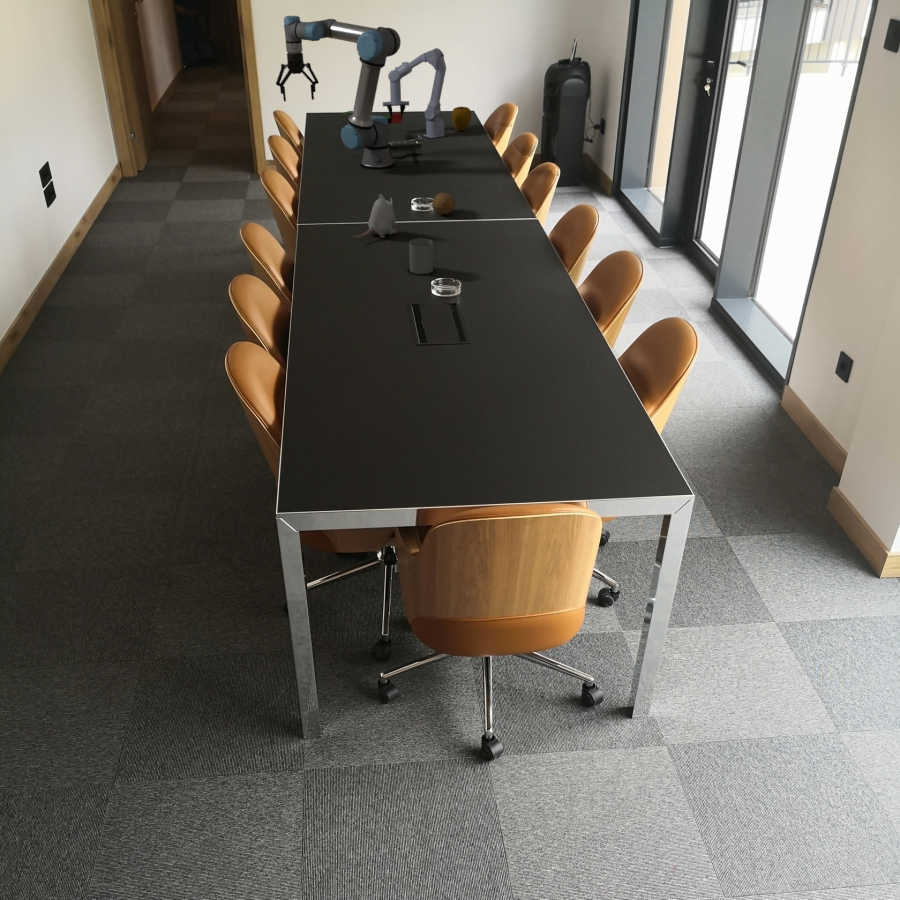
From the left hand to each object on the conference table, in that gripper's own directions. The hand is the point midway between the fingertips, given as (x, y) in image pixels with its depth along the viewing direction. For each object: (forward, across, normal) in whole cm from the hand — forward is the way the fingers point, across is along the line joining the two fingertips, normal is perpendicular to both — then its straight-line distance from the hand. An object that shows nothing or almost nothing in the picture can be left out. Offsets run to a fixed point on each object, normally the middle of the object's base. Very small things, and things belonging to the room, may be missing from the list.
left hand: (298, 100), depth 420 cm
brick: (+23, +59, +43) cm, 77 cm away
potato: (+28, +42, -104) cm, 115 cm away
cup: (+28, +16, -164) cm, 167 cm away
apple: (+28, +96, +39) cm, 107 cm away
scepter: (+28, +49, +73) cm, 92 cm away
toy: (+28, +7, -125) cm, 128 cm away
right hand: (+21, +59, +43) cm, 76 cm away
